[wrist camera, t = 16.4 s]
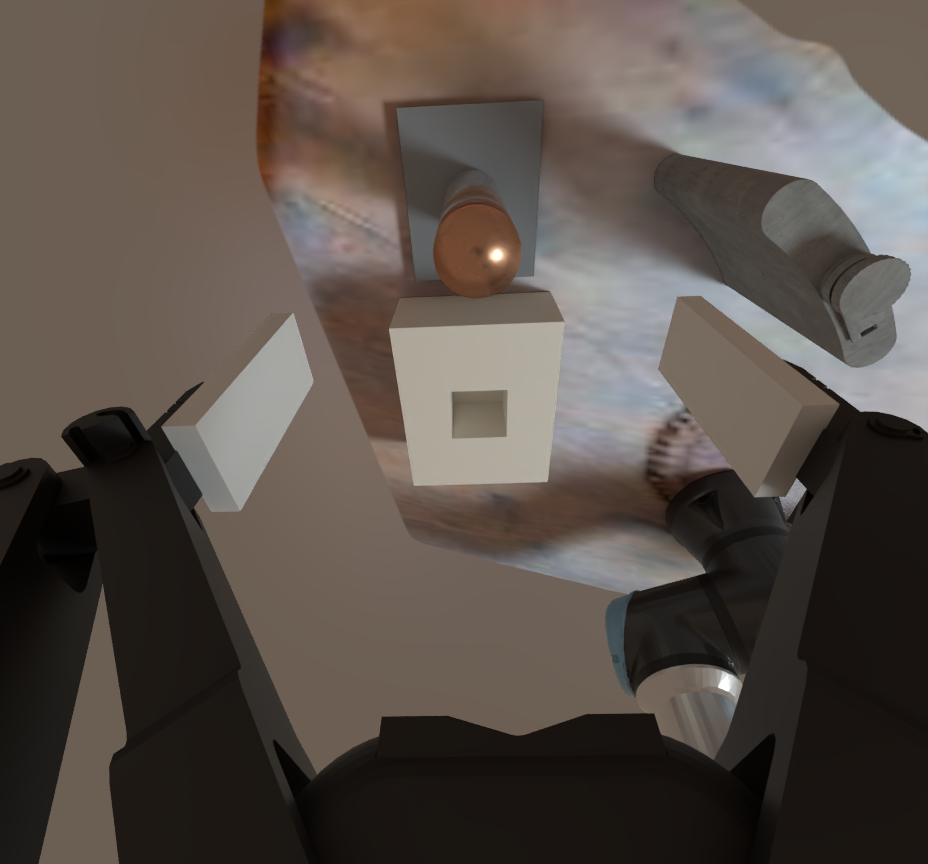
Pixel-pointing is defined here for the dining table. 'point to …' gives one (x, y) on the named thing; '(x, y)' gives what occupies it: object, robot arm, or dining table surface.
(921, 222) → the dining table surface
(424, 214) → the slate mat
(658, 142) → the dining table surface
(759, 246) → the hip flask
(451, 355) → the bore block
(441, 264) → the steel plug
